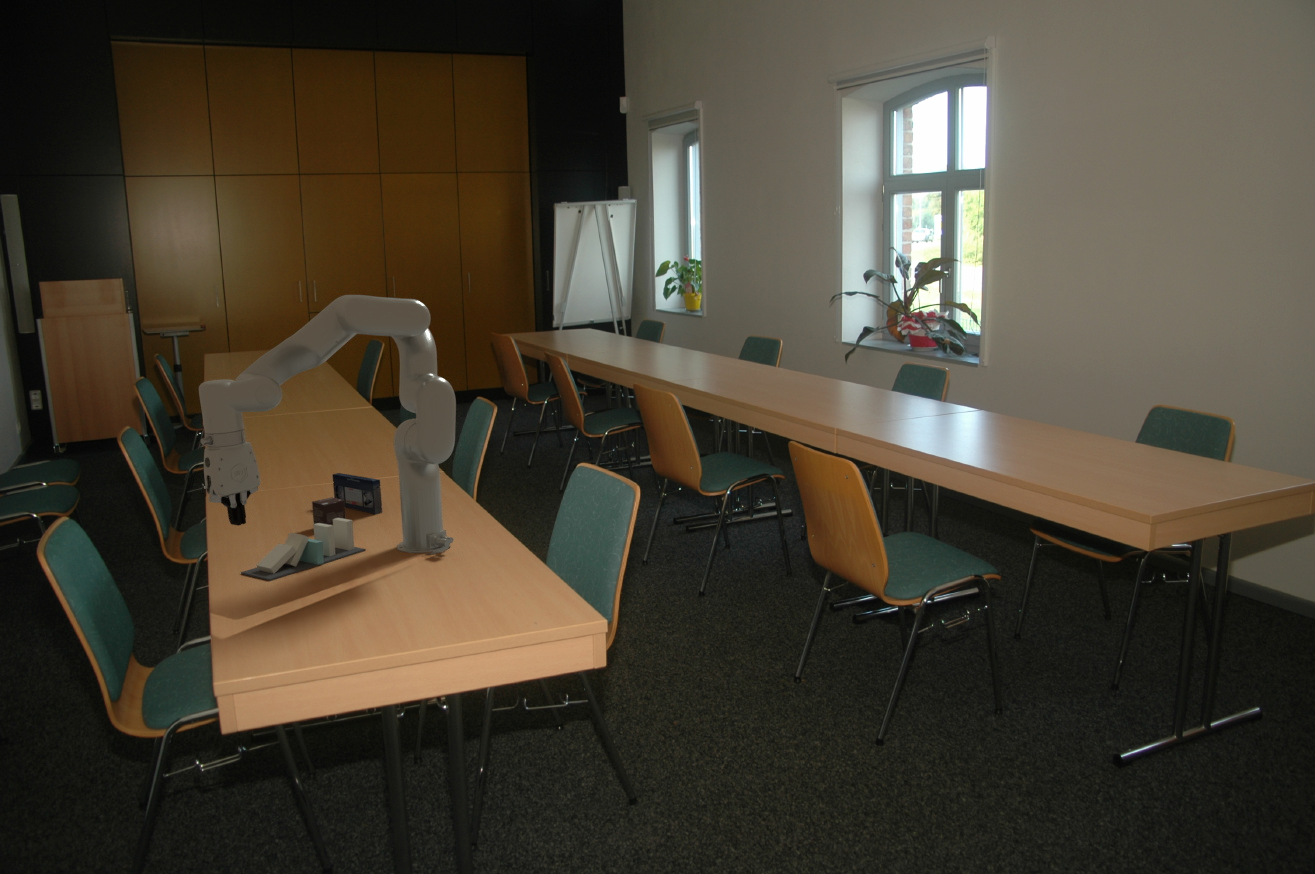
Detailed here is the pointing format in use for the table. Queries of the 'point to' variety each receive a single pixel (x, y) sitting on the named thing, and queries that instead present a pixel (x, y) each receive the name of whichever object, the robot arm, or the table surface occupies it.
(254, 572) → the mat
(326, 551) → the domino
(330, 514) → the box
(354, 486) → the vhs cassette tape
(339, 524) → the domino
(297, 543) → the domino
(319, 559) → the teal domino
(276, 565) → the domino
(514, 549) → the table surface
